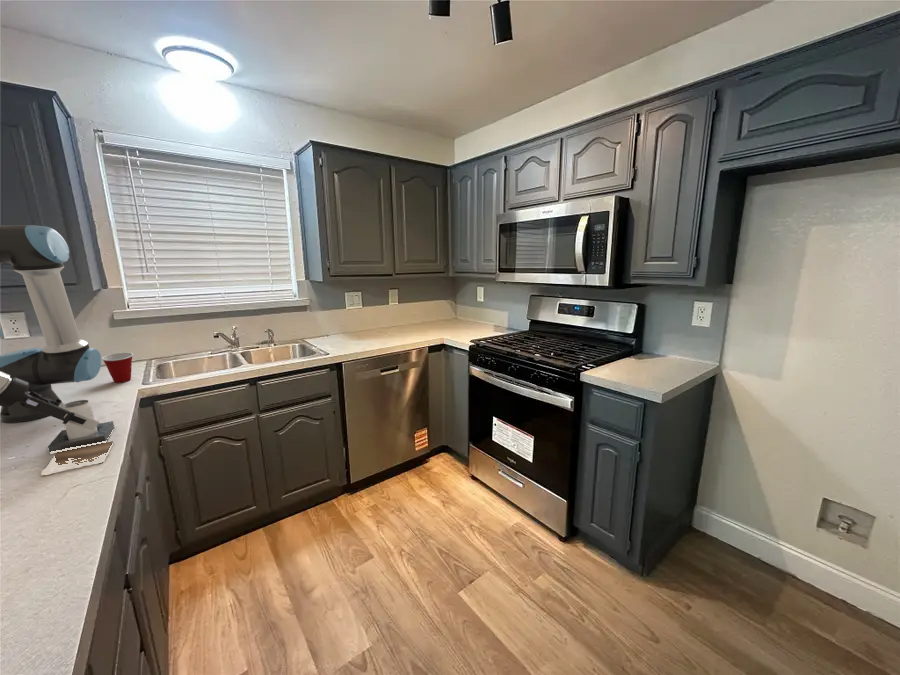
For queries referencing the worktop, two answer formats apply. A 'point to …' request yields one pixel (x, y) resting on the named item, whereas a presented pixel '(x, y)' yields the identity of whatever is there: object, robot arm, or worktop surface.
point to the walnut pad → (83, 453)
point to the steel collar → (63, 441)
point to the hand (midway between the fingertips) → (88, 420)
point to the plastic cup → (119, 366)
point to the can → (85, 410)
